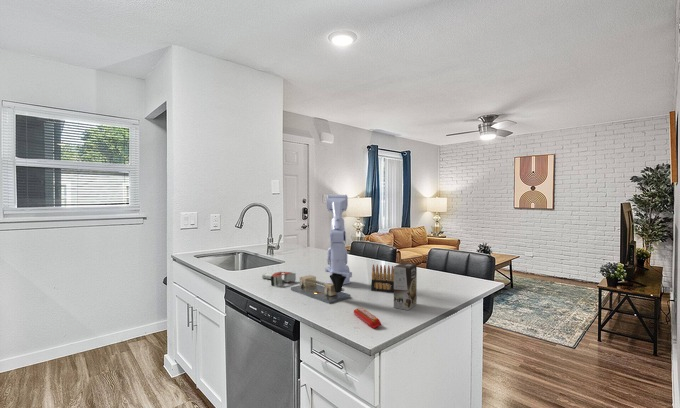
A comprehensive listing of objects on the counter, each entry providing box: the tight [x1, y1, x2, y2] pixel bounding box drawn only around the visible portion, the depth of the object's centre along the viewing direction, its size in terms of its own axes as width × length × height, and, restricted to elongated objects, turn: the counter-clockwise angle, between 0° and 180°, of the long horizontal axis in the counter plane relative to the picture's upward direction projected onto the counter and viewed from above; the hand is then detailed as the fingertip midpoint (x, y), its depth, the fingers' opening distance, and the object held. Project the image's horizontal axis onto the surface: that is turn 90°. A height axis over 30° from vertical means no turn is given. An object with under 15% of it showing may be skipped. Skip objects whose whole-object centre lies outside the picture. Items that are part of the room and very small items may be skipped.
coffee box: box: [393, 262, 418, 311], centre depth 131 cm, size 9×6×16 cm
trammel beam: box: [299, 274, 346, 292], centre depth 149 cm, size 7×24×4 cm, turn 42°
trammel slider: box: [324, 283, 337, 296], centre depth 142 cm, size 4×4×4 cm
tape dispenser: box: [261, 271, 297, 288], centre depth 169 cm, size 18×5×20 cm
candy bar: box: [353, 306, 382, 329], centre depth 116 cm, size 16×4×3 cm, turn 23°
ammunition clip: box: [370, 264, 394, 294], centre depth 151 cm, size 11×2×12 cm, turn 68°
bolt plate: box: [290, 283, 352, 304], centre depth 148 cm, size 12×27×1 cm, turn 42°
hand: (338, 291), depth 139 cm, fingers closed
